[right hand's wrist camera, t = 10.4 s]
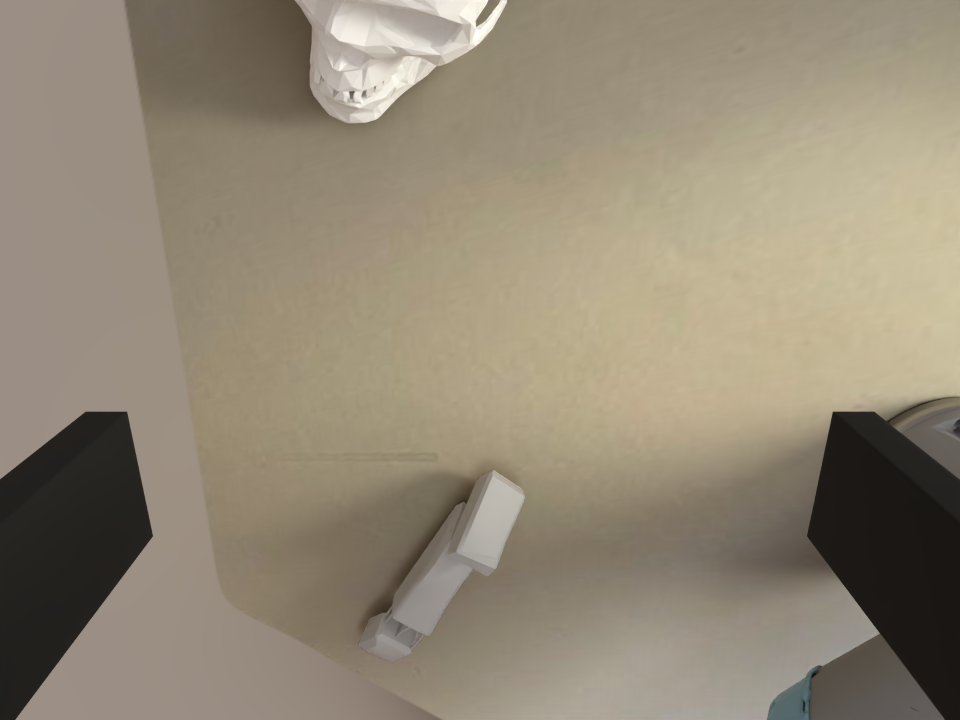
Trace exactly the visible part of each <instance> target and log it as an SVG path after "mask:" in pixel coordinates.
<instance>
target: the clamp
mask: <svg viewBox="0 0 960 720" xmlns="http://www.w3.org/2000/svg"><path fill="white" fill-rule="evenodd" d="M524 500H525V497H524V493H523V491H522V489H521V488H520V487H518V486H517V485H515V484H514V483H512V482H511V481H509V480H508V479H506V478H505V477H503V476H502V475H500V474H499V473H497V472H496V471H494V470H491V471H490V472H488V473H486V474H484V475H482V476H481V477H480V478H479V479H478V480H477V481H476V483H475V485H474V488H473V490H472V492H471V495H470V497H469V500H468V502H467V504H466V503H465V502H462V503H460V504H458V505H456V506H455V507H454V509H453V510H452V512H451V513H450V515H449V516H448V518H447V519H446V520H445V522H444V523H443V525H442V526H441V528H440V529H439V531H438V532H437V533H436V535H435V536H434V538H433V539H432V541H431V542H430V543H429V545H428V546H427V548H426V549H425V551H424V552H423V554H422V555H421V556H420V558H419V559H418V561H417V562H416V564H415V565H414V567H413V568H412V569H411V571H410V572H409V574H408V575H407V577H406V578H405V579H404V581H403V582H402V584H401V585H400V587H399V588H398V590H397V591H396V592H395V595H394V598H393V605H392V606H391V608H390V609H389V610H388V612H387V613H381V614H378V615H376V616H374V617H371V618H370V619H369V620H368V623H367V626H366V628H365V630H364V632H363V635H362V637H361V639H360V641H359V646H360V647H361V648H362V649H363V650H364V651H366V652H368V653H370V654H373V655H375V656H377V657H380V658H382V659H384V660H387V661H389V662H394V661H395V660H398V659H400V658H403V657H405V656H407V655H411V653H412V651H413V648H414V647H415V646H416V645H417V644H418V643H419V641H420V640H421V639H422V637H423V636H424V635H425V636H429V635H430V634H431V633H432V631H433V629H434V628H435V626H436V624H437V623H438V621H439V619H440V617H441V616H442V614H443V612H444V611H445V609H446V607H447V605H448V604H449V602H450V601H451V599H452V598H453V596H454V595H455V594H456V592H457V591H458V589H459V588H460V587H461V585H462V584H463V582H464V581H465V580H466V578H467V577H468V575H469V574H470V573H471V572H472V570H473V569H474V570H476V571H478V572H479V573H481V574H483V575H485V576H488V575H489V574H491V573H492V572H493V571H494V570H495V569H496V568H497V565H498V563H499V560H500V557H501V554H502V552H503V549H504V546H505V544H506V541H507V538H508V536H509V534H510V532H511V529H512V527H513V525H514V523H515V520H516V518H517V516H518V514H519V511H520V509H521V507H522V505H523V503H524ZM391 610H392V612H391ZM390 612H391V614H390ZM419 632H420V633H421V634H422V635H421V636H420V637H419V639H418V640H417V637H418V635H419ZM416 640H417V641H416Z"/></svg>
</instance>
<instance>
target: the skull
mask: <svg viewBox="0 0 960 720" xmlns="http://www.w3.org/2000/svg"><path fill="white" fill-rule="evenodd" d="M295 1H296V3H297V4H298V5H299V6H300V7H301V9H302V11H303V12H304V14H305V16H306V17H307V19H308V20H309V22H310V24H311V25H312V45H311V55H310V65H311V67H310V88H311V90H312V93H313V95H314V97H315V98H316V99H317V100H318V102H319V103H320V104H321V106H322V107H323V108H324V109H325V111H326V112H327V113H328V114H329V115H330V116H332V117H335V118H337V119H339V120H341V121H343V122H345V123H366V122H369V121H373V120H376V119H378V118H379V117H380V116H381V115H382V114H383V113H384V112H385V111H386V110H387V109H388V108H389V106H390V105H391V104H392V103H393V102H394V101H395V100H396V99H397V98H398V97H400V96H401V95H402V94H403V93H404V92H405V91H406V90H408V89H409V88H410V87H412V86H413V85H415V84H416V83H417V82H419V81H420V80H421V79H423V78H424V77H426V76H427V75H428V74H429V73H430V72H431V71H432V70H433V69H434V68H435V67H436V66H437V67H438V66H441V65H444V64H447V63H448V62H450V61H452V60H454V59H456V58H458V57H459V56H461V55H463V54H465V53H467V52H468V51H469V50H471V49H472V48H474V47H475V46H477V45H478V44H479V43H480V42H481V41H482V40H483V39H484V38H485V37H486V35H487V34H488V33H489V32H490V31H491V30H492V29H493V27H494V25H495V23H496V22H497V20H498V18H499V16H500V14H501V13H502V11H503V9H504V7H505V5H506V2H507V0H500V3H499V4H498V6H497V7H496V8H495V9H494V11H493V12H492V13H491V15H490V16H489V17H488V19H487V20H486V21H485V22H483V23H482V24H481V25H479V26H477V27H476V19H477V18H478V16H479V15H480V13H481V12H482V10H483V9H484V7H485V6H486V4H487V2H488V0H295ZM349 91H355V92H354V93H349Z"/></svg>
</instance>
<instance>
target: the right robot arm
mask: <svg viewBox="0 0 960 720" xmlns="http://www.w3.org/2000/svg"><path fill="white" fill-rule="evenodd" d="M152 537H153V534H152V529H151V525H150V520H149V515H148V510H147V505H146V501H145V496H144V491H143V486H142V482H141V477H140V472H139V467H138V462H137V457H136V453H135V448H134V443H133V438H132V433H131V429H130V424H129V419H128V414H127V412H85V413H84V414H82V415H81V416H80V417H79V418H77V419H76V420H75V421H73V422H72V423H71V424H70V425H68V426H67V427H66V428H65V429H63V430H62V431H61V432H60V433H58V434H57V435H56V436H55V437H53V438H52V439H51V440H49V441H48V442H47V443H46V444H44V445H43V446H42V447H41V448H39V449H38V450H37V451H36V452H34V453H33V454H32V455H30V456H29V457H28V458H27V459H25V460H24V461H23V462H22V463H20V464H19V465H18V466H17V467H15V468H14V469H13V470H11V471H10V472H9V473H8V474H6V475H5V476H4V477H3V478H1V479H0V720H15V719H16V718H17V717H18V715H19V714H20V713H21V711H22V710H23V709H24V707H25V706H26V705H27V703H28V702H29V701H30V699H31V698H32V697H33V695H34V694H35V693H36V691H37V690H38V689H39V687H40V686H41V685H42V683H43V682H44V681H45V679H46V678H47V677H48V675H49V674H50V673H51V671H52V670H53V669H54V667H55V666H56V665H57V663H58V662H59V661H60V659H61V658H62V657H63V655H64V654H65V653H66V651H67V650H68V649H69V647H70V646H71V645H72V643H73V642H74V641H75V639H76V638H77V637H78V635H79V634H80V633H81V631H82V630H83V629H84V627H85V626H86V625H87V623H88V622H89V621H90V619H91V618H92V617H93V615H94V614H95V613H96V611H97V610H98V609H99V607H100V606H101V605H102V603H103V602H104V601H105V599H106V598H107V597H108V595H109V594H110V593H111V591H112V590H113V589H114V587H115V586H116V585H117V583H118V582H119V581H120V579H121V578H122V577H123V575H124V574H125V573H126V571H127V570H128V569H129V567H130V566H131V565H132V563H133V562H134V561H135V559H136V558H137V557H138V555H139V554H140V553H141V551H142V550H143V549H144V547H145V546H146V545H147V543H148V542H149V541H150V539H151V538H152ZM807 537H808V538H809V539H810V541H811V542H812V543H813V545H814V546H815V547H816V549H817V550H818V551H819V553H820V554H821V555H822V557H823V558H824V559H825V561H826V562H827V563H828V565H829V566H830V567H831V569H832V570H833V571H834V573H835V574H836V575H837V577H838V578H839V579H840V581H841V582H842V583H843V585H844V586H845V587H846V589H847V590H848V591H849V593H850V594H851V595H852V597H853V598H854V599H855V601H856V602H857V603H858V605H859V606H860V607H861V609H862V610H863V611H864V613H865V614H866V615H867V617H868V618H869V619H870V621H871V622H872V623H873V625H874V626H875V627H876V629H877V630H878V631H879V633H880V634H879V635H877V636H875V637H874V638H872V639H870V640H868V641H866V642H865V643H863V644H861V645H859V646H858V647H856V648H854V649H852V650H851V651H849V652H847V653H845V654H844V655H842V656H840V657H838V658H837V659H835V660H833V661H831V662H830V663H828V664H826V665H824V666H817V667H815V668H813V669H811V670H810V671H809V672H808V674H807V676H806V677H805V678H804V679H802V680H801V681H799V682H798V683H796V684H795V685H793V686H791V687H790V688H788V689H787V690H785V691H784V692H782V693H781V694H779V695H778V696H777V697H776V698H775V699H774V700H773V702H772V703H771V705H770V709H769V713H768V718H767V720H960V397H955V398H947V399H941V400H936V401H932V402H929V403H926V404H923V405H920V406H918V407H915V408H913V409H910V410H908V411H906V412H904V413H903V414H901V415H899V416H897V417H896V418H894V419H892V420H891V421H890V422H887V421H885V420H884V419H883V418H881V417H880V416H879V415H878V414H876V413H875V412H833V414H832V419H831V424H830V428H829V433H828V438H827V443H826V448H825V453H824V457H823V462H822V467H821V472H820V477H819V481H818V486H817V491H816V496H815V501H814V505H813V510H812V515H811V520H810V525H809V529H808V534H807Z"/></svg>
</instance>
